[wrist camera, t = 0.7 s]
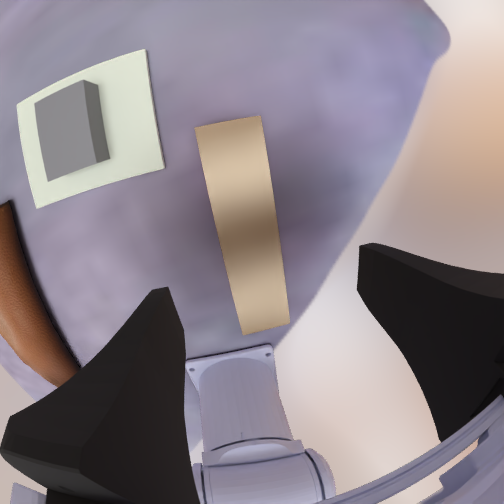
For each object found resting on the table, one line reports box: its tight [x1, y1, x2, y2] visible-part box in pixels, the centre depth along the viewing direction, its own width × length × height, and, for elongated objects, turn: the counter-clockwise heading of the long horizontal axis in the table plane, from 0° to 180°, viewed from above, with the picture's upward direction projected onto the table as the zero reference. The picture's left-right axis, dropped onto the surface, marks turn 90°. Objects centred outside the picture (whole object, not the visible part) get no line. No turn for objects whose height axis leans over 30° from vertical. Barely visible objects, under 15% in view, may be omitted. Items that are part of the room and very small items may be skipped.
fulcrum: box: [17, 49, 165, 209], centre depth 12 cm, size 8×10×3 cm
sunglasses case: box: [0, 201, 81, 387], centre depth 16 cm, size 18×7×7 cm, turn 4°
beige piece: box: [195, 116, 290, 335], centre depth 16 cm, size 12×3×5 cm, turn 10°
